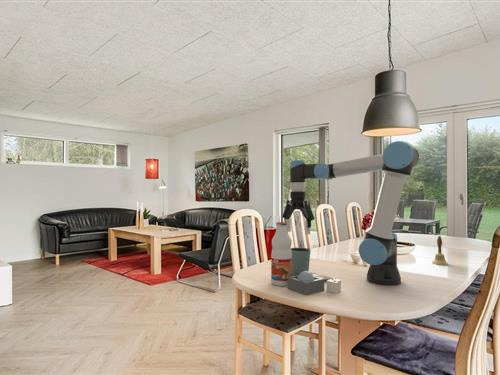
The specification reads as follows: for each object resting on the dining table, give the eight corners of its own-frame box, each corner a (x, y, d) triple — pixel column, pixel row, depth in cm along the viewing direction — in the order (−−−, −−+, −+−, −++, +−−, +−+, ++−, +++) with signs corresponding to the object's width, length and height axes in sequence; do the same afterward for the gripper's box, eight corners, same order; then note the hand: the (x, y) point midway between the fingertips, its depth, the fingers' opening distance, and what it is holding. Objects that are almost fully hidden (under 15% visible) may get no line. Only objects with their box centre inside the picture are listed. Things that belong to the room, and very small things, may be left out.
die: (340, 290, 147) (340, 280, 147) (336, 293, 144) (336, 282, 144) (331, 288, 150) (331, 278, 150) (326, 291, 146) (326, 280, 146)
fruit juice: (296, 283, 158) (296, 222, 158) (283, 288, 151) (283, 224, 151) (280, 279, 165) (280, 220, 164) (266, 283, 158) (267, 222, 157)
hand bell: (432, 264, 198) (432, 236, 198) (431, 261, 206) (431, 235, 206) (449, 265, 195) (449, 237, 195) (447, 263, 203) (447, 235, 203)
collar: (324, 290, 148) (324, 278, 148) (306, 295, 141) (306, 283, 141) (305, 284, 156) (305, 273, 156) (287, 288, 150) (287, 277, 150)
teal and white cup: (290, 270, 178) (290, 247, 178) (310, 271, 177) (310, 247, 177) (289, 275, 168) (289, 250, 168) (310, 276, 167) (310, 251, 167)
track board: (332, 280, 164) (332, 277, 164) (314, 284, 156) (314, 282, 156) (296, 270, 184) (296, 267, 184) (277, 273, 176) (277, 271, 176)
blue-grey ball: (317, 288, 148) (317, 271, 148) (306, 291, 144) (306, 273, 144) (305, 284, 154) (305, 268, 154) (294, 287, 149) (294, 270, 149)
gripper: (321, 191, 167) (321, 234, 167) (285, 190, 187) (286, 230, 187) (311, 191, 163) (311, 236, 162) (275, 191, 182) (275, 231, 182)
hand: (297, 233), depth 175 cm, fingers open, 13 cm apart
